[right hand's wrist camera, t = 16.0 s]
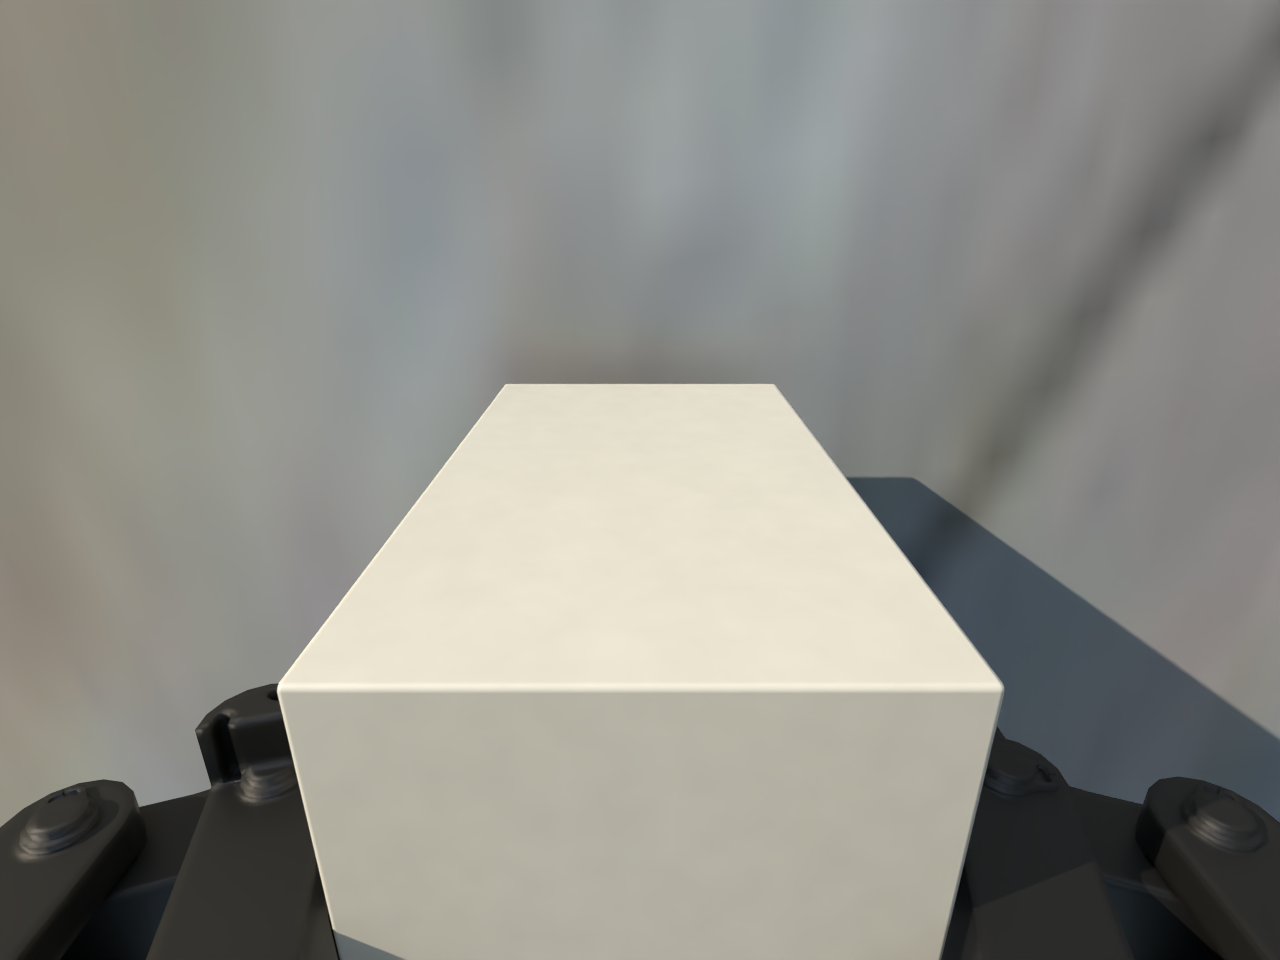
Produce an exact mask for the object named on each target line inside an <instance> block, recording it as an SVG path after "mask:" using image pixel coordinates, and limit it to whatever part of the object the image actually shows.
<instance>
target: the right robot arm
mask: <svg viewBox="0 0 1280 960" xmlns="http://www.w3.org/2000/svg"><path fill="white" fill-rule="evenodd" d="M277 688H278V684H269V685H265V686H261V687H258V688H254V689H250V690H247V691H245V692H243V693H240V694H238V695H236V696H234V697H232V698H230V699H228V700H226V701H224V702H223V703H221V704H220V705H219V706H217V707H216V708H215V709H213V710H212V711H211V712H209V713H208V714H207V715H206V716H205V717H204V719H203V720H202V721H201V723H200V724H199V725H198V727H197V728H196V730H195V732H196V735H197V739H198V742H199V745H200V749H201V752H202V756H203V759H204V762H205V766H206V769H207V772H208V776H209V779H210V783H211V786H212V787H211V789H209V790H206V791H203V792H200V793H196V794H193V795H189V796H185V797H180V798H176V799H172V800H168V801H163V802H159V803H155V804H151V805H146V806H142V807H139V806H138V803H137V800H136V797H135V795H134V792H133V791H132V790H131V789H130V788H129V787H128V786H127V785H125V784H124V783H123V782H118V781H111V780H97V781H91V782H84V783H78V784H76V785H73V786H70V787H67V788H65V789H62V790H59V791H56V792H53V793H51V794H49V795H47V796H45V797H44V798H42V799H40V800H38V801H36V802H35V803H33V804H31V805H29V806H27V807H26V808H24V809H23V810H21V811H20V812H19V813H18V814H16V815H15V816H14V817H13V818H12V819H10V820H9V821H8V822H7V823H5V824H4V825H3V826H2V827H0V960H340V957H339V953H338V949H337V945H336V940H335V936H334V932H333V928H332V923H331V919H330V915H329V911H328V906H327V902H326V898H325V894H324V889H323V885H322V881H321V877H320V872H319V868H318V864H317V860H316V855H315V851H314V847H313V843H312V838H311V834H310V830H309V826H308V821H307V817H306V813H305V809H304V804H303V800H302V796H301V792H300V787H299V783H298V779H297V775H296V770H295V766H294V762H293V758H292V753H291V749H290V745H289V741H288V736H287V732H286V728H285V724H284V719H283V715H282V711H281V707H280V702H279V698H278V694H277ZM941 960H1280V823H1279V822H1278V821H1277V820H1276V819H1274V818H1273V817H1272V816H1271V815H1269V814H1268V813H1267V812H1266V811H1264V810H1263V809H1262V808H1261V807H1259V806H1258V805H1256V804H1254V803H1253V802H1251V801H1249V800H1247V799H1245V798H1244V797H1242V796H1240V795H1238V794H1236V793H1235V792H1233V791H1231V790H1228V789H1225V788H1222V787H1220V786H1217V785H1214V784H1211V783H1208V782H1206V781H1202V780H1196V779H1189V778H1183V777H1173V778H1166V779H1159V780H1158V781H1157V782H1156V783H1155V784H1153V785H1152V786H1151V787H1150V788H1149V789H1148V792H1147V795H1146V797H1145V800H1144V803H1143V805H1142V804H1138V803H1134V802H1129V801H1125V800H1121V799H1117V798H1112V797H1108V796H1104V795H1100V794H1095V793H1091V792H1087V791H1084V790H1081V789H1077V788H1074V787H1071V786H1068V784H1067V782H1066V781H1065V779H1064V778H1063V776H1062V775H1061V773H1060V772H1059V770H1058V769H1057V768H1056V767H1055V766H1054V765H1053V764H1051V763H1050V762H1049V761H1048V760H1047V759H1045V758H1044V757H1043V756H1042V755H1041V754H1039V753H1037V752H1035V751H1033V750H1031V749H1030V748H1028V747H1026V746H1024V745H1022V744H1020V743H1018V742H1014V741H1011V740H1007V739H1005V737H1004V736H1003V734H1002V733H1001V731H1000V730H999V728H998V727H996V731H995V735H994V739H993V743H992V748H991V752H990V756H989V760H988V765H987V769H986V773H985V777H984V782H983V786H982V790H981V794H980V798H979V803H978V807H977V811H976V815H975V820H974V824H973V828H972V832H971V836H970V841H969V845H968V849H967V853H966V858H965V862H964V866H963V870H962V874H961V879H960V883H959V887H958V891H957V896H956V900H955V904H954V908H953V913H952V917H951V921H950V925H949V929H948V934H947V938H946V942H945V946H944V951H943V955H942V959H941Z"/></svg>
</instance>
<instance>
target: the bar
mask: <svg viewBox="0 0 1280 960" xmlns="http://www.w3.org/2000/svg"><path fill="white" fill-rule="evenodd" d="M1004 693H1005V690H1004V685H1003V683H1002V681H1001V680H1000V679H999V678H998V676H997V675H996V674H995V672H994V671H993V670H992V668H991V667H990V666H989V664H988V663H987V662H986V661H985V659H984V658H983V657H982V655H981V654H980V653H979V651H978V650H977V649H976V647H975V646H974V645H973V643H972V642H971V641H970V640H969V638H968V637H967V636H966V634H965V633H964V632H963V630H962V629H961V628H960V626H959V625H958V624H957V623H956V621H955V620H954V619H953V617H952V616H951V615H950V613H949V612H948V611H947V609H946V608H945V607H944V605H943V604H942V603H941V602H940V600H939V599H938V598H937V596H936V595H935V594H934V592H933V591H932V590H931V588H930V587H929V586H928V585H927V583H926V582H925V581H924V579H923V578H922V577H921V575H920V574H919V573H918V571H917V570H916V569H915V568H914V566H913V565H912V564H911V562H910V561H909V560H908V558H907V557H906V556H905V554H904V553H903V552H902V550H901V549H900V548H899V547H898V545H897V544H896V543H895V541H894V540H893V539H892V537H891V536H890V535H889V533H888V532H887V531H886V530H885V528H884V527H883V526H882V524H881V523H880V522H879V520H878V519H877V518H876V516H875V515H874V514H873V512H872V511H871V510H870V509H869V507H868V506H867V505H866V503H865V502H864V501H863V499H862V498H861V497H860V495H859V494H858V493H857V492H856V490H855V489H854V488H853V486H852V485H851V484H850V482H849V481H848V480H847V478H846V477H845V476H844V474H843V473H842V472H841V471H840V469H839V468H838V467H837V465H836V464H835V463H834V461H833V460H832V459H831V457H830V456H829V455H828V454H827V452H826V451H825V450H824V448H823V447H822V446H821V444H820V443H819V442H818V440H817V439H816V438H815V437H814V435H813V434H812V433H811V431H810V430H809V429H808V427H807V426H806V425H805V423H804V422H803V421H802V419H801V418H800V417H799V416H798V414H797V413H796V412H795V410H794V409H793V408H792V406H791V405H790V404H789V402H788V401H787V400H786V399H785V397H784V396H783V395H782V393H781V392H780V391H779V389H778V388H777V387H776V385H774V384H506V385H505V386H504V387H503V389H502V390H501V391H500V393H499V394H498V395H497V397H496V398H495V399H494V401H493V402H492V403H491V405H490V406H489V407H488V408H487V410H486V411H485V412H484V414H483V415H482V416H481V418H480V419H479V420H478V422H477V423H476V424H475V426H474V427H473V428H472V430H471V431H470V432H469V433H468V435H467V436H466V437H465V439H464V440H463V441H462V443H461V444H460V445H459V447H458V448H457V449H456V451H455V452H454V453H453V455H452V456H451V457H450V459H449V460H448V461H447V462H446V464H445V465H444V466H443V468H442V469H441V470H440V472H439V473H438V474H437V476H436V477H435V478H434V480H433V481H432V482H431V484H430V485H429V486H428V488H427V489H426V490H425V491H424V493H423V494H422V495H421V497H420V498H419V499H418V501H417V502H416V503H415V505H414V506H413V507H412V509H411V510H410V511H409V513H408V514H407V515H406V516H405V518H404V519H403V520H402V522H401V523H400V524H399V526H398V527H397V528H396V530H395V531H394V532H393V534H392V535H391V536H390V538H389V539H388V540H387V542H386V543H385V544H384V545H383V547H382V548H381V549H380V551H379V552H378V553H377V555H376V556H375V557H374V559H373V560H372V561H371V563H370V564H369V565H368V567H367V568H366V569H365V571H364V572H363V573H362V574H361V576H360V577H359V578H358V580H357V581H356V582H355V584H354V585H353V586H352V588H351V589H350V590H349V592H348V593H347V594H346V596H345V597H344V598H343V599H342V601H341V602H340V603H339V605H338V606H337V607H336V609H335V610H334V611H333V613H332V614H331V615H330V617H329V618H328V619H327V621H326V622H325V623H324V625H323V626H322V627H321V628H320V630H319V631H318V632H317V634H316V635H315V636H314V638H313V639H312V640H311V642H310V643H309V644H308V646H307V647H306V648H305V650H304V651H303V652H302V653H301V655H300V656H299V657H298V659H297V660H296V661H295V663H294V664H293V665H292V667H291V668H290V669H289V671H288V672H287V673H286V675H285V676H284V677H283V679H282V680H281V681H280V682H279V684H278V688H277V694H278V698H279V702H280V707H281V711H282V715H283V719H284V724H285V728H286V732H287V736H288V741H289V745H290V749H291V753H292V758H293V762H294V766H295V770H296V775H297V779H298V783H299V787H300V792H301V796H302V800H303V804H304V809H305V813H306V817H307V821H308V826H309V830H310V834H311V838H312V843H313V847H314V851H315V855H316V860H317V864H318V868H319V872H320V877H321V881H322V885H323V889H324V894H325V898H326V902H327V906H328V911H329V915H330V919H331V923H332V928H333V932H334V936H335V940H336V945H337V949H338V953H339V957H340V960H941V959H942V955H943V951H944V946H945V942H946V938H947V934H948V929H949V925H950V921H951V917H952V913H953V908H954V904H955V900H956V896H957V891H958V887H959V883H960V879H961V874H962V870H963V866H964V862H965V858H966V853H967V849H968V845H969V841H970V836H971V832H972V828H973V824H974V820H975V815H976V811H977V807H978V803H979V798H980V794H981V790H982V786H983V782H984V777H985V773H986V769H987V765H988V760H989V756H990V752H991V748H992V743H993V739H994V735H995V731H996V727H997V722H998V718H999V714H1000V710H1001V705H1002V701H1003V697H1004Z"/></svg>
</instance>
